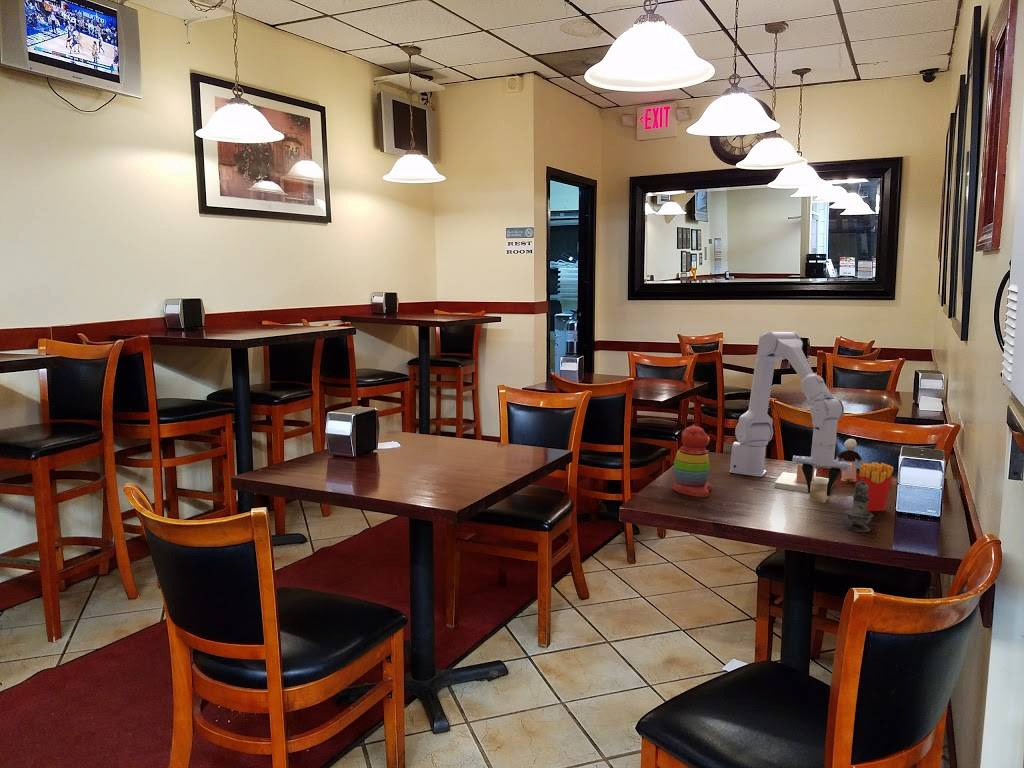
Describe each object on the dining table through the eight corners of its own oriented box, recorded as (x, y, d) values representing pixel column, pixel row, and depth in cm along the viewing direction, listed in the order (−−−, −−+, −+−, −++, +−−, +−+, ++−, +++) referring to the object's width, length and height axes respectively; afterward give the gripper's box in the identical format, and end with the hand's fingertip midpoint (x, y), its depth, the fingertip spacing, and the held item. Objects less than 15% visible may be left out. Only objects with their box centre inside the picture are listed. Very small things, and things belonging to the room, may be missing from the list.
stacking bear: (708, 498, 202) (713, 431, 199) (669, 493, 205) (673, 427, 203) (712, 488, 212) (717, 424, 209) (675, 483, 215) (679, 421, 213)
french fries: (859, 511, 195) (864, 465, 193) (851, 506, 199) (856, 461, 197) (891, 511, 196) (896, 465, 194) (883, 507, 199) (888, 462, 198)
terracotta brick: (796, 481, 216) (797, 464, 215) (798, 477, 221) (800, 460, 220) (811, 483, 214) (813, 466, 213) (813, 479, 219) (815, 462, 218)
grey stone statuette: (839, 524, 184) (844, 475, 182) (863, 524, 185) (868, 475, 183) (852, 532, 178) (857, 481, 177) (876, 532, 179) (881, 482, 177)
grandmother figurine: (858, 480, 226) (862, 438, 224) (862, 483, 222) (867, 440, 221) (831, 478, 227) (835, 436, 225) (835, 482, 223) (839, 439, 221)
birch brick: (809, 500, 203) (810, 482, 202) (811, 495, 208) (813, 477, 208) (825, 503, 201) (827, 484, 201) (827, 497, 207) (829, 479, 206)
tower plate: (774, 487, 215) (775, 482, 215) (782, 476, 227) (783, 471, 227) (828, 495, 208) (829, 490, 208) (833, 484, 221) (834, 478, 220)
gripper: (792, 442, 203) (788, 492, 204) (852, 450, 196) (847, 501, 198) (796, 438, 209) (792, 486, 211) (854, 445, 202) (849, 495, 204)
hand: (819, 493), depth 205 cm, fingers closed on birch brick, 4 cm apart
